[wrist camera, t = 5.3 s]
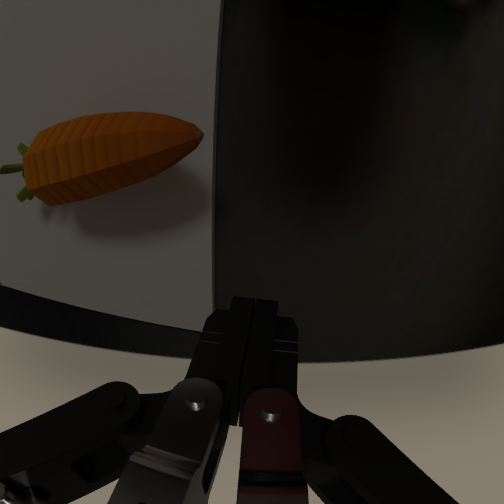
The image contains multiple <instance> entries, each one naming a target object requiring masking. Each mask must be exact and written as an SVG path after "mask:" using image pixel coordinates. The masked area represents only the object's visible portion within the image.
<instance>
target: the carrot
mask: <svg viewBox="0 0 504 504" xmlns="http://www.w3.org/2000/svg"><path fill="white" fill-rule="evenodd" d="M203 138H204V133H203V132H202V131H201V130H200V129H199V128H198V127H197V126H196V125H195V124H193V123H190V122H187V121H184V120H181V119H178V118H175V117H172V116H169V115H164V114H158V113H152V112H113V113H101V114H93V115H86V116H81V117H78V118H74V119H71V120H68V121H65V122H62V123H59V124H56V125H54V126H51V127H48V128H46V129H43V130H41V131H40V132H39V133H38V134H37V135H36V136H35V138H34V140H33V141H32V143H31V145H30V146H29V148H28V147H27V146H26V145H24V144H23V143H22V142H21V143H20V144H19V145H18V147H17V149H18V151H19V153H20V154H21V155H22V156H24V157H23V159H22V161H23V163H19V164H7V165H2V166H1V169H0V174H11V173H16V172H21V171H23V172H22V176H23V177H24V178H25V182H26V185H25V186H24V187H23V188H22V190H21V191H20V192H19V193H18V194H17V196H16V197H17V199H18V200H19V201H21V202H23V201H25V200H26V199H28V200H32V199H33V197H34V196H36V197H37V198H38V199H40V200H41V201H42V202H43V203H45V204H46V205H48V206H56V205H62V204H67V203H72V202H77V201H81V200H86V199H91V198H95V197H98V196H101V195H103V194H106V193H109V192H112V191H115V190H118V189H121V188H124V187H127V186H130V185H133V184H136V183H138V182H141V181H144V180H146V179H149V178H152V177H154V176H156V175H158V174H160V173H161V172H163V171H165V170H167V169H168V168H170V167H172V166H174V165H175V164H176V163H178V162H179V161H180V160H182V159H183V158H184V157H186V156H187V155H188V154H190V153H191V152H192V151H194V150H195V149H196V148H197V147H198V145H199V144H200V142H201V141H202V139H203Z"/></svg>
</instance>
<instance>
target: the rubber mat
mask: <svg viewBox="0 0 504 504" xmlns="http://www.w3.org/2000/svg"><path fill="white" fill-rule="evenodd" d="M223 9H224V0H0V169H1V166H2V165H7V164H19V163H23V161H22V159H23V157H24V156H22V155H21V154H20V153H19V151H18V149H17V147H18V145H19V144H20V143H21V142H22V143H23V144H24V145H26V146H27V147H28V148H29V146H30V145H31V143H32V141H33V140H34V138H35V136H36V135H37V134H38V133H39V132H40V131H41V130H43V129H46V128H48V127H51V126H54V125H56V124H59V123H62V122H65V121H68V120H71V119H74V118H78V117H81V116H86V115H93V114H101V113H113V112H152V113H158V114H164V115H169V116H172V117H175V118H178V119H181V120H184V121H187V122H190V123H193V124H195V125H196V126H197V127H198V128H199V129H200V130H201V131H202V132H203V133H204V138H203V139H202V141H201V142H200V144H199V145H198V147H197V148H196V149H195V150H194V151H192V152H191V153H190V154H188V155H187V156H186V157H184V158H183V159H182V160H180V161H179V162H178V163H176V164H175V165H174V166H172V167H170V168H168V169H167V170H165V171H163V172H161V173H160V174H158V175H156V176H154V177H152V178H149V179H146V180H144V181H141V182H138V183H136V184H133V185H130V186H127V187H124V188H121V189H118V190H115V191H112V192H109V193H106V194H103V195H101V196H98V197H95V198H91V199H86V200H81V201H77V202H72V203H67V204H62V205H56V206H48V205H46V204H45V203H43V202H42V201H41V200H40V199H38V198H37V197H36V196H34V197H33V199H32V200H28V199H26V200H25V201H23V202H21V201H19V200H18V199H17V197H16V196H17V194H18V193H19V192H20V191H21V190H22V188H23V187H24V186H25V185H26V182H25V178H24V177H23V176H22V172H23V171H21V172H16V173H11V174H0V282H1V285H4V286H7V287H10V288H13V289H16V290H20V291H23V292H27V293H30V294H33V295H37V296H40V297H44V298H48V299H51V300H55V301H59V302H63V303H66V304H70V305H74V306H78V307H82V308H86V309H91V310H95V311H99V312H103V313H108V314H112V315H117V316H121V317H126V318H131V319H136V320H141V321H146V322H151V323H156V324H161V325H166V326H172V327H178V328H183V329H189V330H195V331H201V332H202V329H203V327H204V324H205V321H206V318H207V317H208V316H209V315H211V314H212V313H213V312H214V311H215V175H216V139H217V112H218V89H219V70H220V52H221V36H222V22H223Z"/></svg>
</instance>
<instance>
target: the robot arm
mask: <svg viewBox="0 0 504 504" xmlns="http://www.w3.org/2000/svg"><path fill="white" fill-rule="evenodd" d="M277 308H278V301H272V300H263V299H257V300H256V305H255V299H253V298H245V297H236V296H234V297H233V299H232V302H231V306H230V309H229V311H227V310H219V309H216V310H215V311H214V312H213V313H212V314H211V315H209V316H208V317H207V318H206V321H205V324H204V327H203V329H202V332H201V335H200V338H199V342H198V343H197V346H196V349H195V352H194V355H193V358H192V360H191V363H190V366H189V369H188V372H187V375H186V377H185V379H184V380H183V381H181V382H179V383H178V384H177V385H176V386H175V387H174V388H173V389H172V390H170V391H168V392H164V393H153V394H139V393H138V391H137V390H136V389H135V388H134V387H133V386H132V385H130V384H128V383H125V382H119V381H115V382H110V383H106V384H104V385H102V386H100V387H98V388H96V389H94V390H92V391H90V392H88V393H86V394H84V395H82V396H80V397H78V398H76V399H74V400H71V401H69V402H67V403H65V404H63V405H61V406H59V407H57V408H55V409H52V410H50V411H48V412H46V413H44V414H42V415H40V416H37V417H36V418H33V419H31V420H29V421H26V422H24V423H22V424H20V425H17V426H15V427H13V428H11V429H8V430H6V431H4V432H1V433H0V504H68V503H70V502H72V501H74V500H77V499H79V498H81V497H83V496H85V495H87V494H89V493H91V492H93V491H95V490H97V489H99V488H101V487H103V486H105V485H107V484H109V483H111V482H113V481H115V480H117V479H118V478H119V481H118V482H117V484H116V486H115V489H114V491H113V493H112V495H111V497H110V499H109V501H108V503H107V504H208V498H209V494H210V491H211V488H212V485H213V482H214V478H215V475H216V472H217V469H218V466H219V462H220V459H221V456H222V452H223V449H224V445H225V442H226V438H227V433H228V428H229V425H232V426H237V422H238V417H239V426H240V427H243V430H242V444H241V455H240V456H241V457H240V469H239V479H238V490H237V503H236V504H309V502H308V486H307V484H308V485H309V486H310V487H311V489H312V490H313V491H314V492H315V493H316V494H317V496H318V497H320V499H321V500H322V501H323V502H324V503H325V504H459V503H458V502H457V501H455V500H454V499H453V498H452V497H451V496H450V495H449V494H448V493H446V492H445V491H444V490H443V489H442V488H441V487H440V486H438V485H437V484H436V483H435V482H434V481H433V480H432V479H431V478H430V477H428V476H427V475H426V474H425V473H424V472H423V471H422V470H421V469H420V468H419V467H418V466H416V465H415V464H414V463H413V462H412V461H411V460H410V459H409V458H408V457H407V456H406V455H405V454H403V452H401V451H400V450H399V449H398V448H397V447H396V446H395V445H394V444H393V443H392V442H391V441H390V440H389V439H388V438H387V437H386V436H384V435H383V434H382V433H381V432H380V431H379V430H378V429H377V428H376V427H375V426H374V425H373V424H372V423H371V422H369V421H368V420H367V419H365V418H363V417H360V416H357V415H345V416H341V417H339V418H337V419H335V420H334V421H333V420H330V419H327V418H324V417H321V416H318V415H316V414H313V413H312V412H310V411H308V410H307V409H306V408H305V407H304V406H303V405H302V404H301V402H300V401H299V399H298V395H297V367H298V328H297V326H296V324H295V322H294V320H293V319H292V318H289V317H279V316H277ZM239 411H240V413H239Z"/></svg>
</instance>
